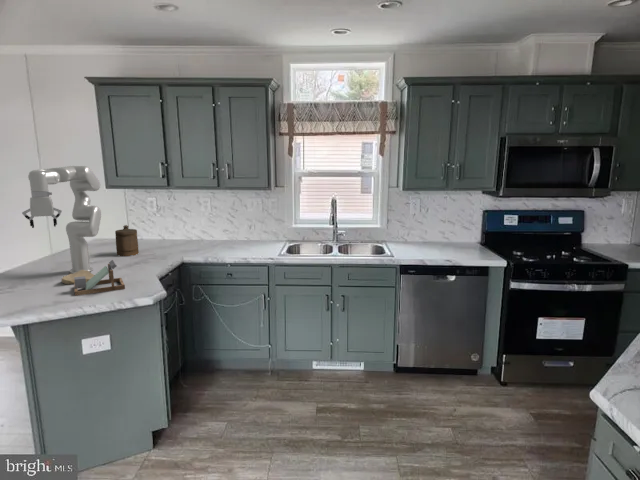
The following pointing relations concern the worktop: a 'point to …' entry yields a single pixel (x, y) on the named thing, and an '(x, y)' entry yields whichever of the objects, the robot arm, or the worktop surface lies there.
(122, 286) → the frame
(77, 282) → the block
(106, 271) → the trapdoor
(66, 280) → the rock
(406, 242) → the worktop surface
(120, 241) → the wooden container
